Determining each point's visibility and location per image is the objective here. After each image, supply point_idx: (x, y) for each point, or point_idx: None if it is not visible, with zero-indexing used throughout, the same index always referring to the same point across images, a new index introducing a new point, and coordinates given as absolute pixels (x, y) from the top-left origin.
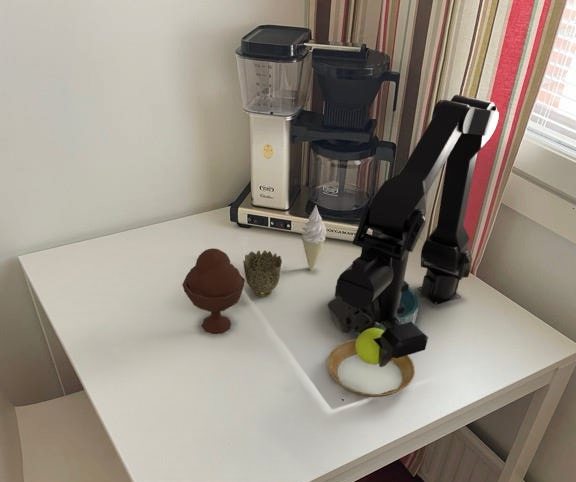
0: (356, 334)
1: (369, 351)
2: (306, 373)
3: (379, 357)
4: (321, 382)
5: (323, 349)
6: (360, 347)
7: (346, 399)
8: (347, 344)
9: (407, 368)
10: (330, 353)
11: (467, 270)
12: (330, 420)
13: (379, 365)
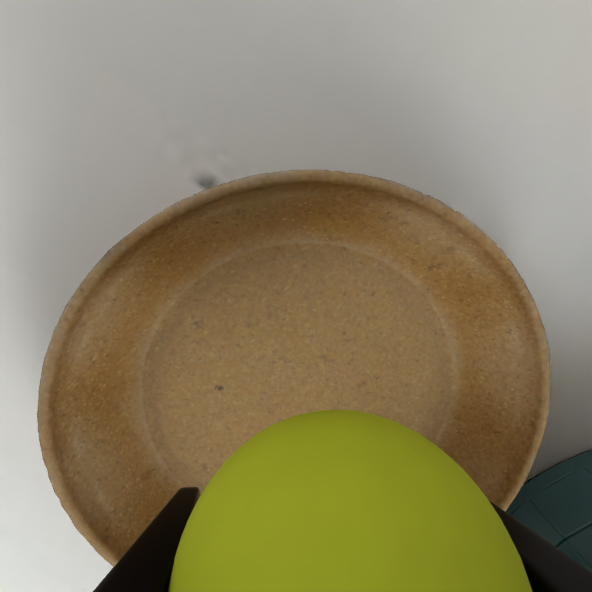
0: (559, 478)
1: (230, 550)
2: (481, 113)
3: (149, 573)
4: (379, 151)
5: (572, 298)
6: (351, 493)
7: None
8: (526, 410)
9: None
10: (521, 280)
11: None
12: (74, 11)
13: (184, 494)
